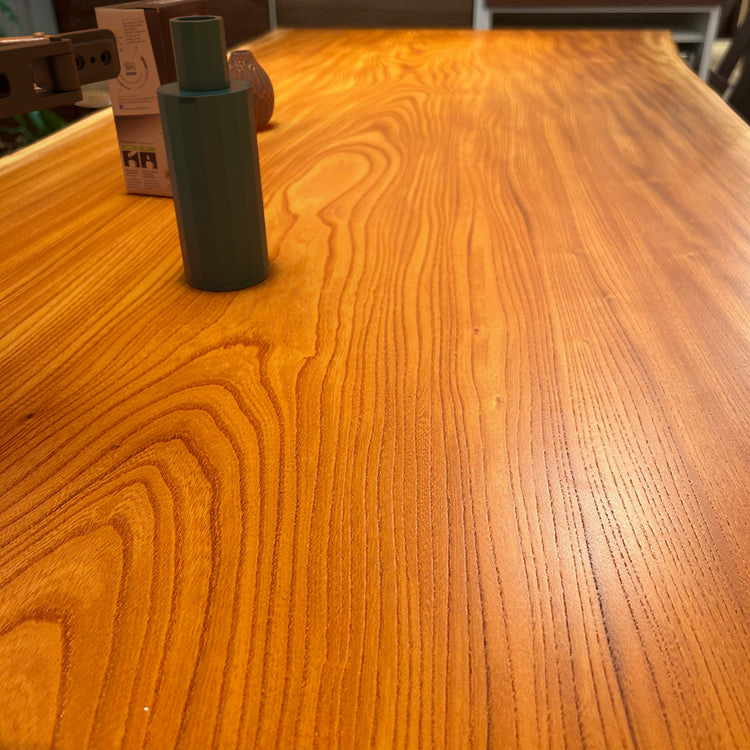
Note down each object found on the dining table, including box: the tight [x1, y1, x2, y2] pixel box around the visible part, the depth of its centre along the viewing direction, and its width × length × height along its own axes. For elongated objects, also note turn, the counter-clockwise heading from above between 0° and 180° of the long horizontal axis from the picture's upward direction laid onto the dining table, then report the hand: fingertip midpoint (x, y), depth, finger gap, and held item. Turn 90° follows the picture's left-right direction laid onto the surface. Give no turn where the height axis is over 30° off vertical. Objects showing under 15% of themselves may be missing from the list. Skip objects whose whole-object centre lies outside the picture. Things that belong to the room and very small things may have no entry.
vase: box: [228, 49, 276, 131], centre depth 93 cm, size 7×7×9 cm
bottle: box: [157, 15, 270, 292], centre depth 52 cm, size 6×6×17 cm
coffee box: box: [94, 0, 209, 198], centre depth 72 cm, size 9×6×16 cm
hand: (52, 47), depth 39 cm, fingers open, 8 cm apart
